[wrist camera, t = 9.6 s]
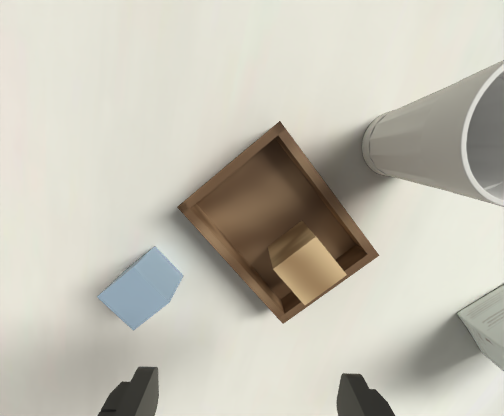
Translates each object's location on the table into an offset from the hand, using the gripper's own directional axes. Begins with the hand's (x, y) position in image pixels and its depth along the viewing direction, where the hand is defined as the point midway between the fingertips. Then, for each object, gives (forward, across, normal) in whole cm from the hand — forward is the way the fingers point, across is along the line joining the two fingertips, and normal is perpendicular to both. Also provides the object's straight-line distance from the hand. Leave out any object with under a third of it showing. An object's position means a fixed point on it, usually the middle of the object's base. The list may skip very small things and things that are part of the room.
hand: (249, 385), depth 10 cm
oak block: (+15, -5, 0) cm, 16 cm away
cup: (+16, -14, -12) cm, 24 cm away
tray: (+16, -3, -3) cm, 16 cm away
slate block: (+16, +10, +4) cm, 19 cm away
